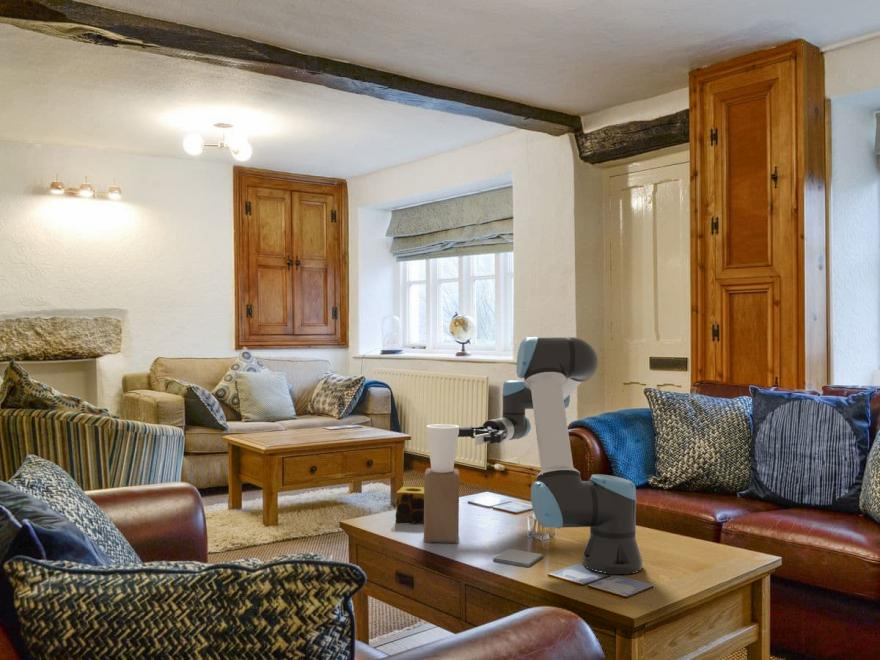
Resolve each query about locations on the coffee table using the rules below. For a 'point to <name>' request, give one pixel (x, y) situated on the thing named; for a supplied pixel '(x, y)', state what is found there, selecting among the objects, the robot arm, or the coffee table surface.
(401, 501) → the giraffe print tissue box
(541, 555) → the slate coaster
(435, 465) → the foam cup
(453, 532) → the block
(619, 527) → the robot arm
